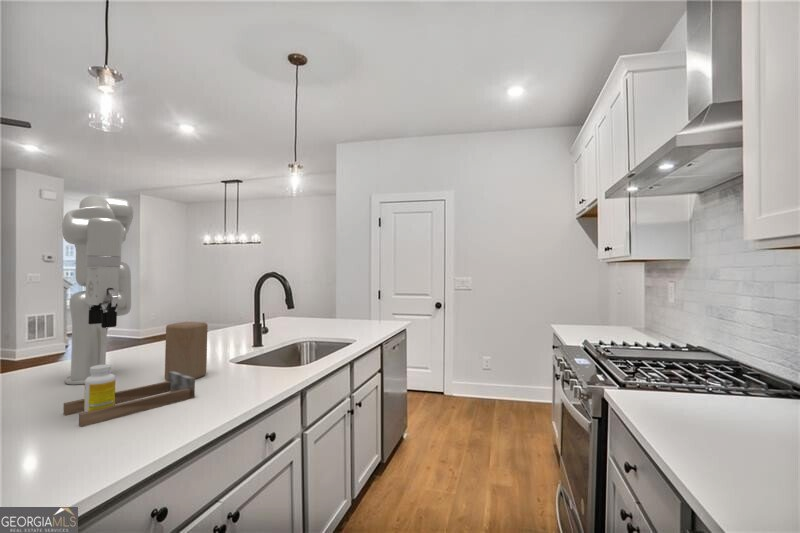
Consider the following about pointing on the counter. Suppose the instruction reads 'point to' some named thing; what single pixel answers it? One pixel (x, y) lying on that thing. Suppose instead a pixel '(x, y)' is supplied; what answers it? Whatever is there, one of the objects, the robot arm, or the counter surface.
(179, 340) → the block
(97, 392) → the supplement bottle
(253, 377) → the counter surface
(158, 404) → the shelf lane
